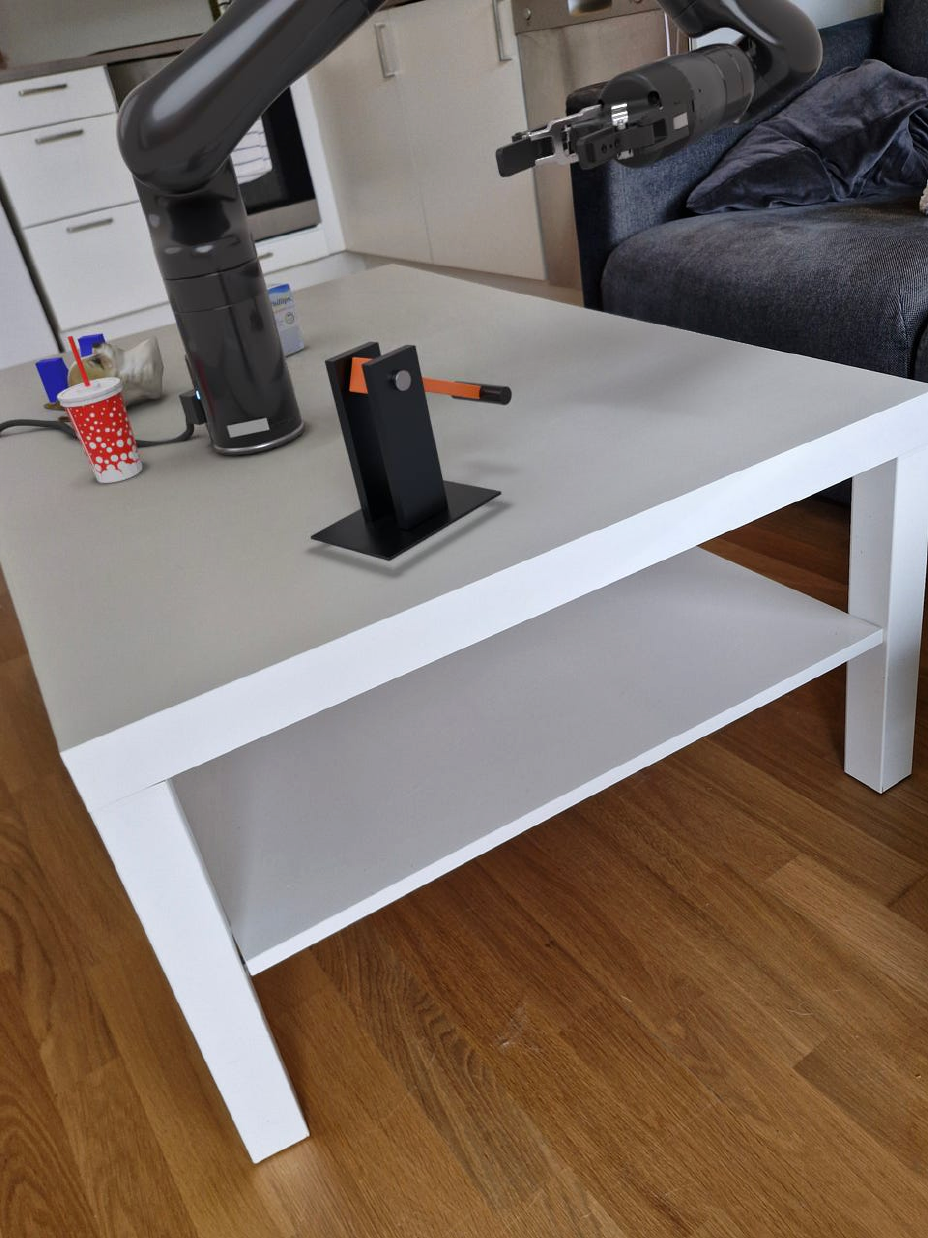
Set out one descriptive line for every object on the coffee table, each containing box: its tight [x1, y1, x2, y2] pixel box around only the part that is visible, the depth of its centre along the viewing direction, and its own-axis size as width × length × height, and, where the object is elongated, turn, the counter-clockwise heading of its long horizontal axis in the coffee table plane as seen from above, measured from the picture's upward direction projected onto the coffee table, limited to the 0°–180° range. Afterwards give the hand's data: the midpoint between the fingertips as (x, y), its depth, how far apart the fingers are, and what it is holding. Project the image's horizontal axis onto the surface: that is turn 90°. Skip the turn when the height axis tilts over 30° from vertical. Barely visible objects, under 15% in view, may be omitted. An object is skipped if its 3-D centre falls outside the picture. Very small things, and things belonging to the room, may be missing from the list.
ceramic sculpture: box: [42, 334, 165, 424], centre depth 124 cm, size 11×9×15 cm
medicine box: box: [265, 283, 306, 358], centre depth 136 cm, size 8×4×9 cm, turn 49°
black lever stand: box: [310, 341, 502, 562], centre depth 76 cm, size 12×9×14 cm
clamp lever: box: [349, 357, 513, 406], centre depth 78 cm, size 13×6×2 cm, turn 136°
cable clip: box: [34, 332, 107, 403], centre depth 136 cm, size 12×4×6 cm, turn 168°
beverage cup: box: [57, 335, 144, 484], centre depth 101 cm, size 6×6×14 cm
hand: (539, 159), depth 80 cm, fingers open, 8 cm apart
